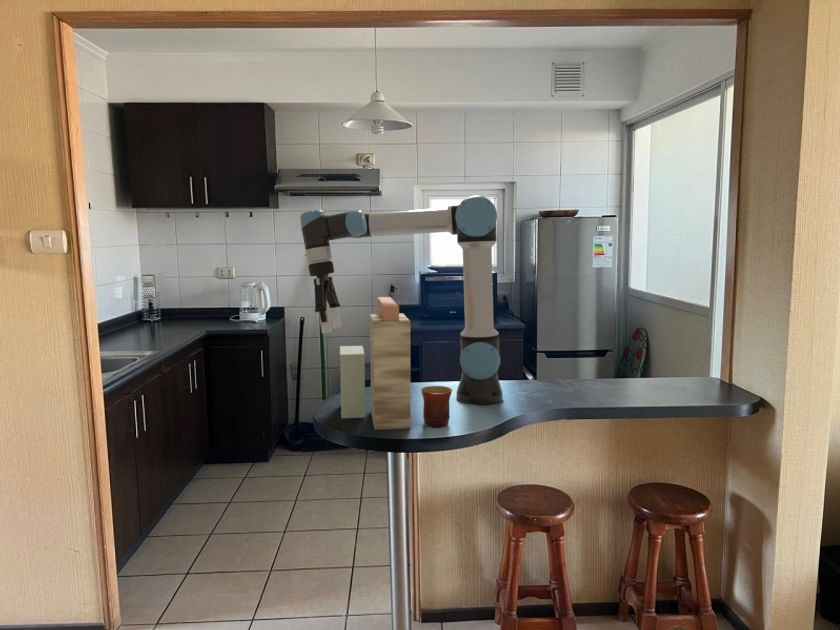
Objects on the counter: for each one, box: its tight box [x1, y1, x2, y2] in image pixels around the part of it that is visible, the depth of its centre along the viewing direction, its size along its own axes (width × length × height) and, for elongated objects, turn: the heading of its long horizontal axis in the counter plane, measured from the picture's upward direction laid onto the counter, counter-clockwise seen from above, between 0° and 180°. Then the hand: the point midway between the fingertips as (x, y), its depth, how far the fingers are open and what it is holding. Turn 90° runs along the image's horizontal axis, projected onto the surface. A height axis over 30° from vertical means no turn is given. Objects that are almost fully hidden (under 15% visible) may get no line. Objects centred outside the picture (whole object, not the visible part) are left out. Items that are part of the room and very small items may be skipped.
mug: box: [420, 385, 453, 429], centre depth 171 cm, size 12×9×10 cm
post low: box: [339, 345, 366, 419], centre depth 182 cm, size 14×7×19 cm, turn 8°
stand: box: [369, 312, 412, 431], centre depth 173 cm, size 18×10×30 cm, turn 8°
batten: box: [377, 296, 400, 321], centre depth 177 cm, size 28×4×4 cm, turn 8°
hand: (332, 330), depth 185 cm, fingers open, 13 cm apart
